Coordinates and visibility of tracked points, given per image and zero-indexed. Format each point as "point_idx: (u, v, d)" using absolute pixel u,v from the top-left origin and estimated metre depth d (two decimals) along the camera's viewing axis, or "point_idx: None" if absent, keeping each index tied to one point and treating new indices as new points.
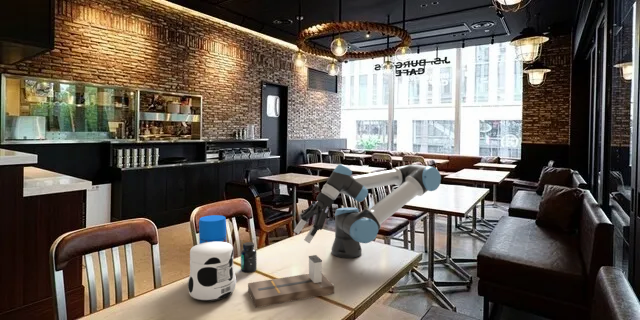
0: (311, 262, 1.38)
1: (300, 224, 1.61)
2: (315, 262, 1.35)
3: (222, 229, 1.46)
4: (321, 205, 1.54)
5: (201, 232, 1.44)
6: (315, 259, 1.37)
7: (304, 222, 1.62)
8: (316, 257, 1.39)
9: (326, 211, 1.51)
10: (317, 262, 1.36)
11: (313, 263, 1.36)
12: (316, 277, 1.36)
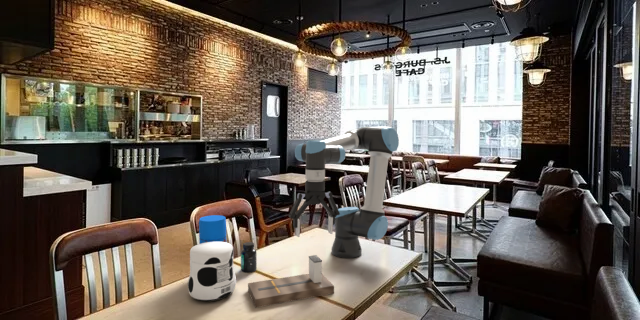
0: (311, 262, 1.38)
1: None
2: (315, 262, 1.35)
3: (222, 229, 1.46)
4: (321, 193, 1.37)
5: (201, 232, 1.44)
6: (315, 259, 1.37)
7: None
8: (316, 257, 1.39)
9: None
10: (317, 262, 1.36)
11: (313, 263, 1.36)
12: (316, 277, 1.36)
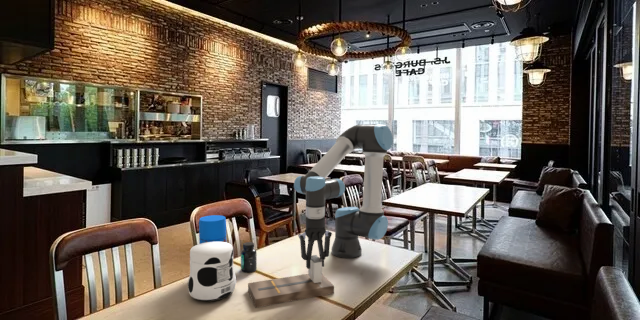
0: None
1: None
2: (315, 262, 1.35)
3: (222, 229, 1.46)
4: (323, 228, 1.38)
5: (201, 232, 1.44)
6: (315, 259, 1.37)
7: None
8: (316, 257, 1.39)
9: None
10: (317, 262, 1.36)
11: (313, 263, 1.36)
12: (316, 277, 1.36)
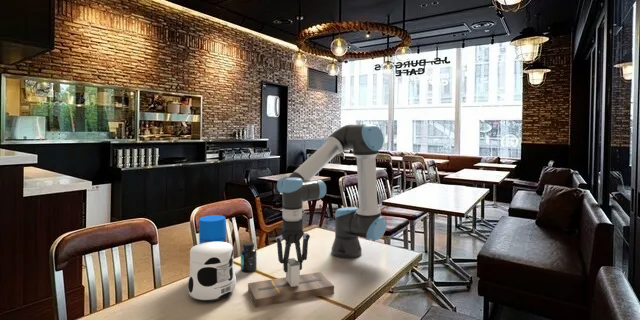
0: None
1: None
2: (292, 265, 1.32)
3: (222, 229, 1.46)
4: (300, 231, 1.34)
5: (201, 232, 1.44)
6: (292, 262, 1.34)
7: None
8: (293, 260, 1.36)
9: None
10: (294, 265, 1.32)
11: (291, 267, 1.32)
12: (293, 281, 1.33)
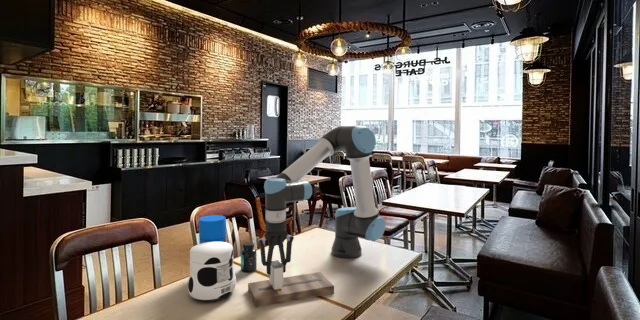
0: None
1: None
2: (275, 268, 1.30)
3: (222, 229, 1.46)
4: (284, 233, 1.32)
5: (201, 232, 1.44)
6: (275, 265, 1.31)
7: None
8: (277, 262, 1.33)
9: None
10: (277, 268, 1.30)
11: (274, 269, 1.30)
12: (276, 284, 1.30)
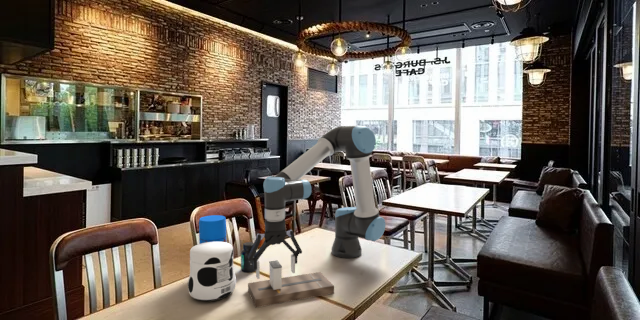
0: (271, 268, 1.32)
1: None
2: (274, 268, 1.30)
3: (222, 229, 1.46)
4: (282, 232, 1.32)
5: (201, 232, 1.44)
6: (275, 265, 1.31)
7: None
8: (276, 263, 1.33)
9: None
10: (276, 268, 1.30)
11: (273, 269, 1.30)
12: (275, 284, 1.30)
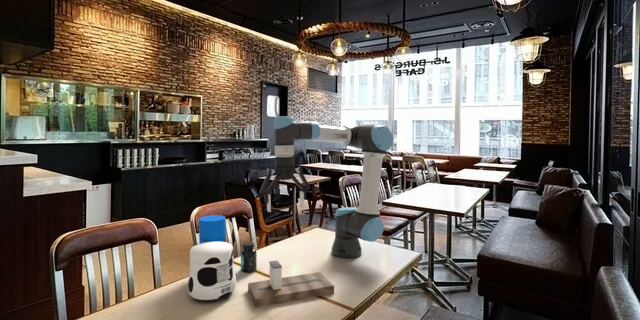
0: (271, 268, 1.32)
1: None
2: (274, 268, 1.30)
3: (222, 229, 1.46)
4: (291, 168, 1.39)
5: (201, 232, 1.44)
6: (275, 265, 1.31)
7: None
8: (276, 263, 1.33)
9: None
10: (276, 268, 1.30)
11: (273, 269, 1.30)
12: (275, 284, 1.30)
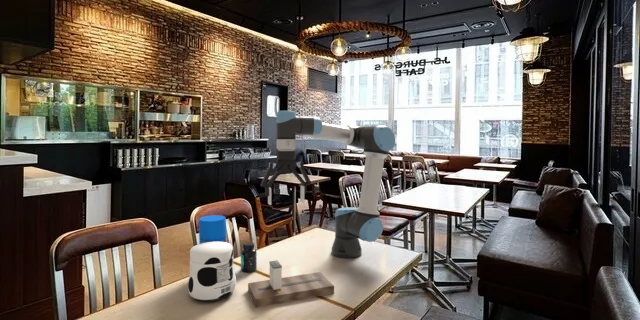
0: (271, 268, 1.32)
1: None
2: (274, 268, 1.30)
3: (222, 229, 1.46)
4: (292, 162, 1.40)
5: (201, 232, 1.44)
6: (275, 265, 1.31)
7: None
8: (276, 263, 1.33)
9: None
10: (276, 268, 1.30)
11: (273, 269, 1.30)
12: (275, 284, 1.30)
